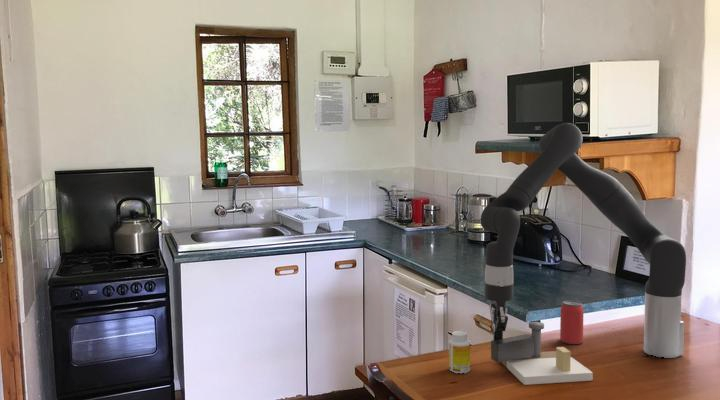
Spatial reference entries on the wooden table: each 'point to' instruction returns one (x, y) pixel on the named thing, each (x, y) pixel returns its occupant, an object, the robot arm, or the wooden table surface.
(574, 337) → the beer can
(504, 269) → the robot arm
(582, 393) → the wooden table surface
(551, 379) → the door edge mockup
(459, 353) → the supplement bottle
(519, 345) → the block
